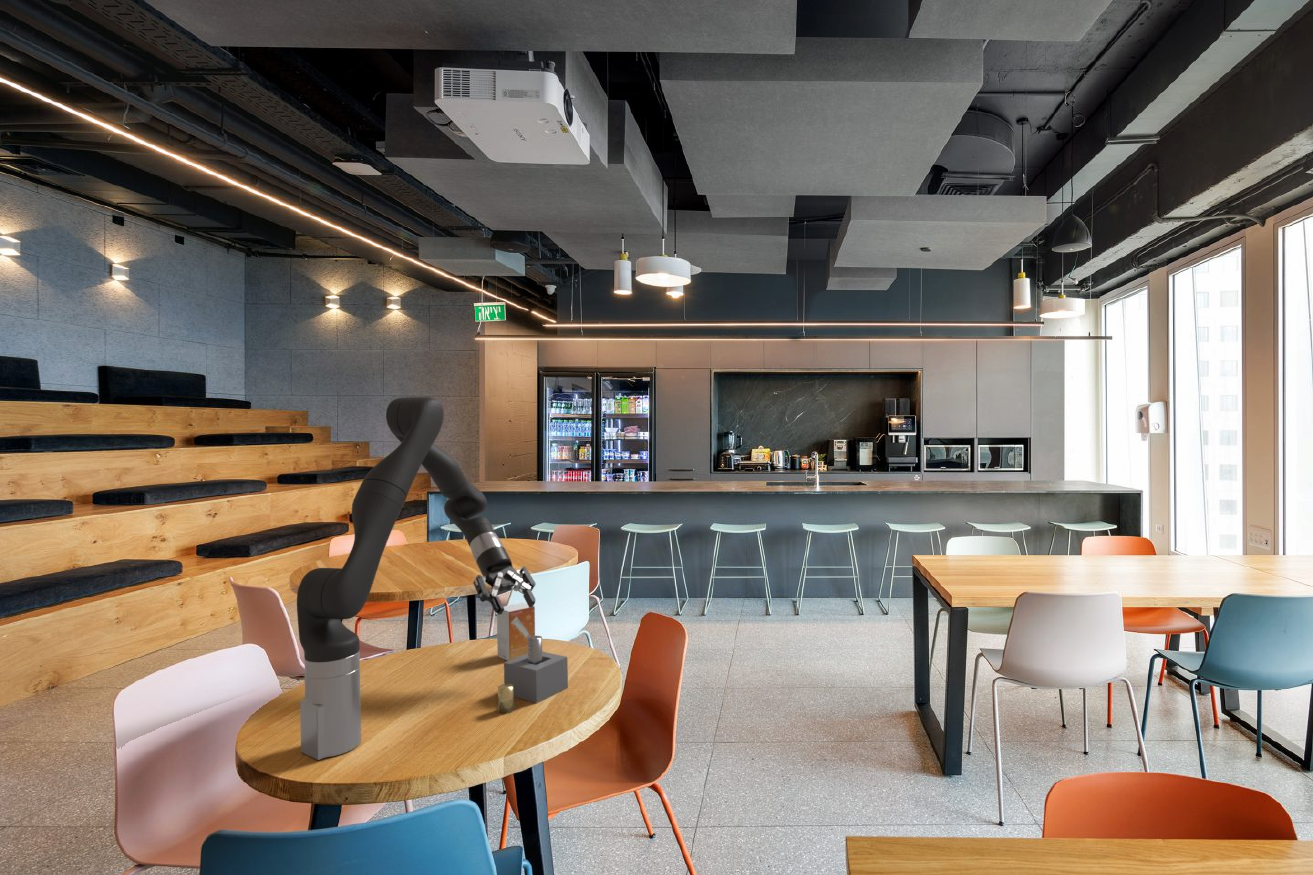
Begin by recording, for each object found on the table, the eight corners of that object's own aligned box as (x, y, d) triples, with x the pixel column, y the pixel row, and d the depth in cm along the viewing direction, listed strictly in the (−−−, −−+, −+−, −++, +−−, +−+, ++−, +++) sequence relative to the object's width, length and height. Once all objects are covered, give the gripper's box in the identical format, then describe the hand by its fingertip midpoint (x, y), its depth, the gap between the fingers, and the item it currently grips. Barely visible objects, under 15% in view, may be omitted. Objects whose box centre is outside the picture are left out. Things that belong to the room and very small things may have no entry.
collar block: (536, 702, 135) (536, 670, 136) (504, 693, 141) (503, 662, 141) (568, 687, 144) (567, 656, 144) (536, 679, 149) (535, 649, 149)
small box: (509, 662, 162) (508, 611, 162) (497, 656, 167) (496, 607, 167) (536, 654, 168) (535, 605, 168) (523, 649, 172) (522, 601, 172)
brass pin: (505, 714, 130) (505, 690, 130) (495, 711, 132) (494, 687, 132) (517, 709, 133) (516, 685, 133) (506, 706, 134) (506, 682, 134)
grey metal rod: (535, 694, 140) (534, 640, 140) (525, 691, 142) (524, 638, 142) (546, 689, 143) (544, 636, 143) (535, 687, 145) (534, 634, 145)
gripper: (469, 549, 149) (496, 605, 141) (520, 541, 159) (548, 593, 151) (458, 568, 152) (484, 624, 144) (509, 560, 163) (536, 611, 154)
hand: (517, 608), depth 148 cm, fingers open, 8 cm apart
